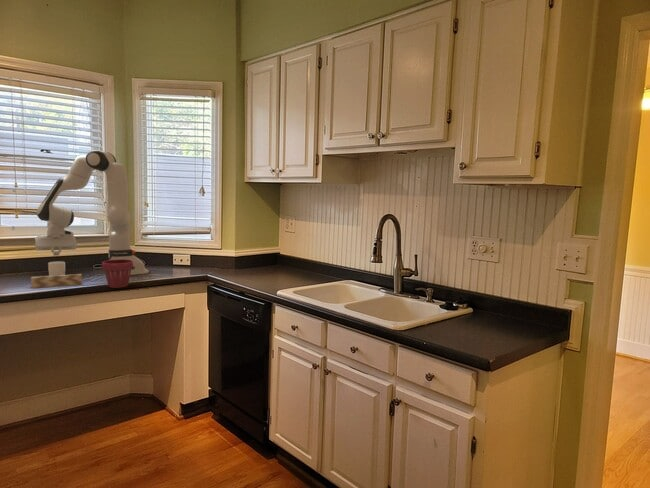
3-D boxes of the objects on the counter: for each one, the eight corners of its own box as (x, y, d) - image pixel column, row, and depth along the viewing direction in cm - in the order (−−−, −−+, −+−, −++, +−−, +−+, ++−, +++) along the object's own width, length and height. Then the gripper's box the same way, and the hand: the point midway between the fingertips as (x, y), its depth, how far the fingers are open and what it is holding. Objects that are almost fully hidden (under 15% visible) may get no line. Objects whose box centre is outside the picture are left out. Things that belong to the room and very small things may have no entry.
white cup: (48, 283, 240) (47, 264, 239) (49, 280, 247) (48, 261, 246) (65, 282, 244) (65, 263, 243) (66, 279, 251) (65, 261, 250)
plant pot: (102, 289, 228) (101, 263, 227) (103, 284, 241) (102, 259, 239) (133, 287, 234) (133, 262, 232) (132, 282, 246) (132, 258, 245)
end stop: (81, 282, 243) (81, 273, 243) (82, 284, 239) (81, 274, 239) (32, 285, 232) (31, 276, 232) (31, 287, 228) (31, 277, 228)
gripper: (34, 232, 260) (34, 252, 252) (76, 232, 270) (76, 250, 262) (35, 239, 264) (34, 259, 256) (76, 239, 274) (76, 257, 266)
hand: (56, 254), depth 259 cm, fingers closed
